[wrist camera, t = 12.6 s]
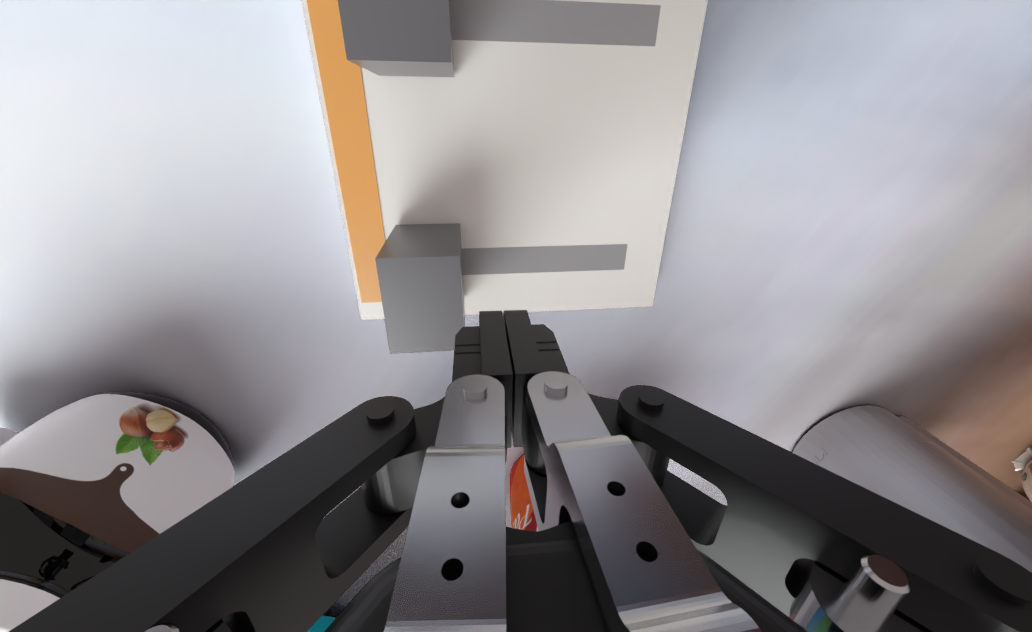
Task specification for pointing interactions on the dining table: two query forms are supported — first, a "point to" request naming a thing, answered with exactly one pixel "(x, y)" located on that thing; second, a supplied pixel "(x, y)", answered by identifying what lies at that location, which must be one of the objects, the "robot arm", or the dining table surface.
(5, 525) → the spread jar
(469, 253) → the panel
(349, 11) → the breaker
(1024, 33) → the dining table surface
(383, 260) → the block
